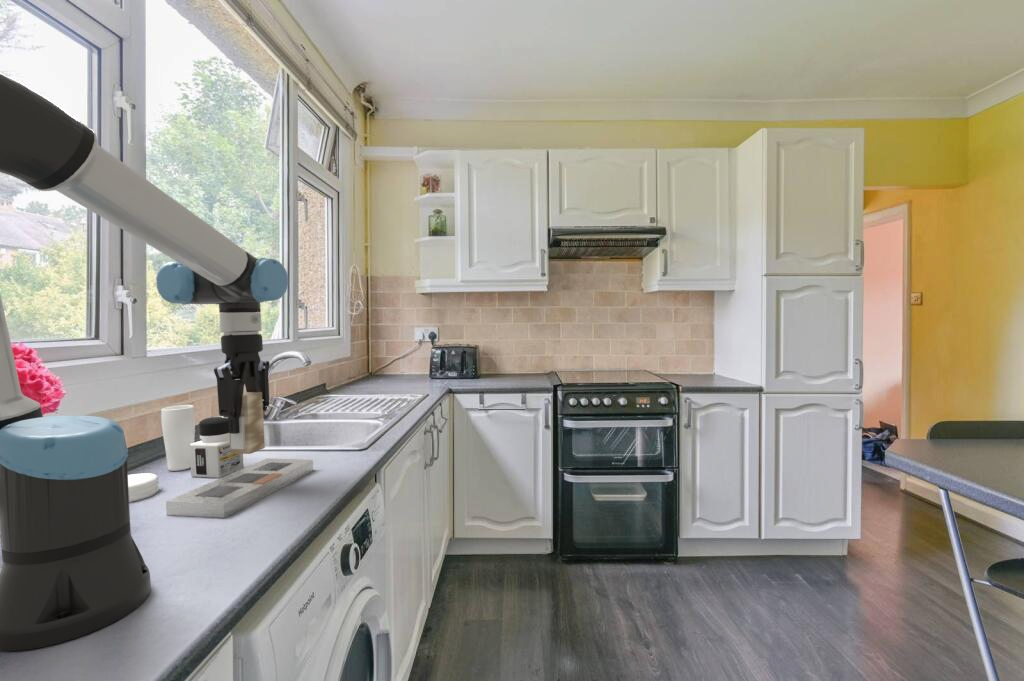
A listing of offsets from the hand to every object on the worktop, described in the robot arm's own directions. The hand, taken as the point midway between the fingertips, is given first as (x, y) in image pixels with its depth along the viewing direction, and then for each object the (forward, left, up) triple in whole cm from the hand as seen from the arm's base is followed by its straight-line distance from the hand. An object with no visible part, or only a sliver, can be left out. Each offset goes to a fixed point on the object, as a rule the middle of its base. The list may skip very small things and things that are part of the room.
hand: (247, 444), depth 103 cm
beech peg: (0, 0, -1) cm, 1 cm away
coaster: (-6, +23, -10) cm, 26 cm away
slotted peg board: (0, 0, -9) cm, 9 cm away
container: (+10, +16, -10) cm, 21 cm away
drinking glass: (+12, +28, -10) cm, 32 cm away
